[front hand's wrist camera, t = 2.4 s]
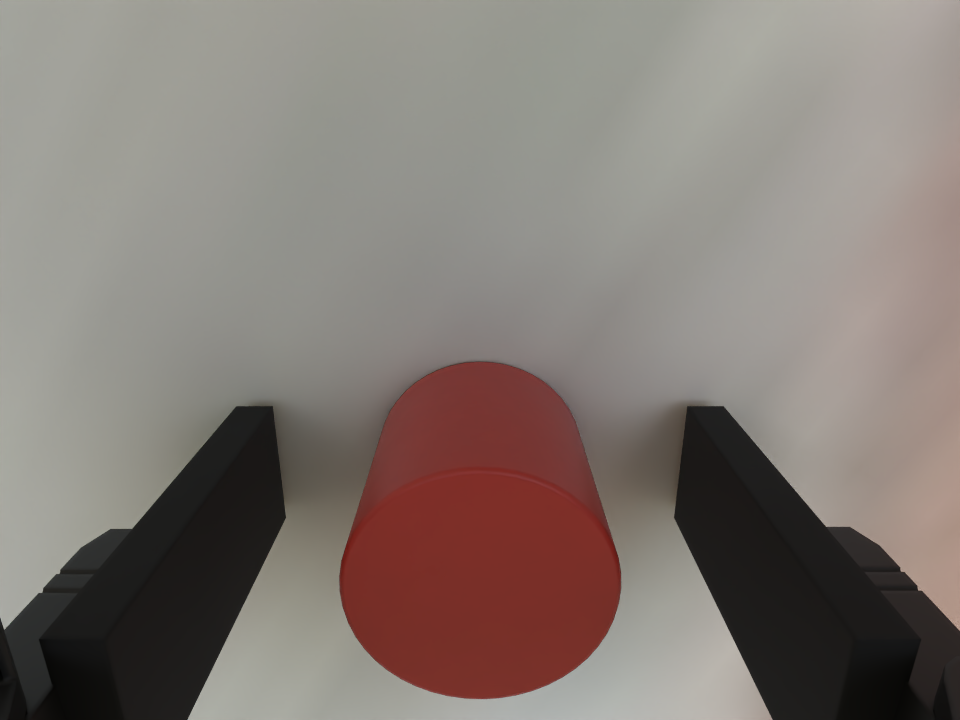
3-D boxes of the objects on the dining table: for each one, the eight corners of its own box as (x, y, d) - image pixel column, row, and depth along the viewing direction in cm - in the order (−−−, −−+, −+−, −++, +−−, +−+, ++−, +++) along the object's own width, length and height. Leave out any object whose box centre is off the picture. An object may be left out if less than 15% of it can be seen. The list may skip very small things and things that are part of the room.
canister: (353, 502, 15) (303, 655, 11) (420, 329, 13) (393, 427, 9) (532, 562, 15) (552, 731, 11) (614, 402, 14) (672, 526, 10)
